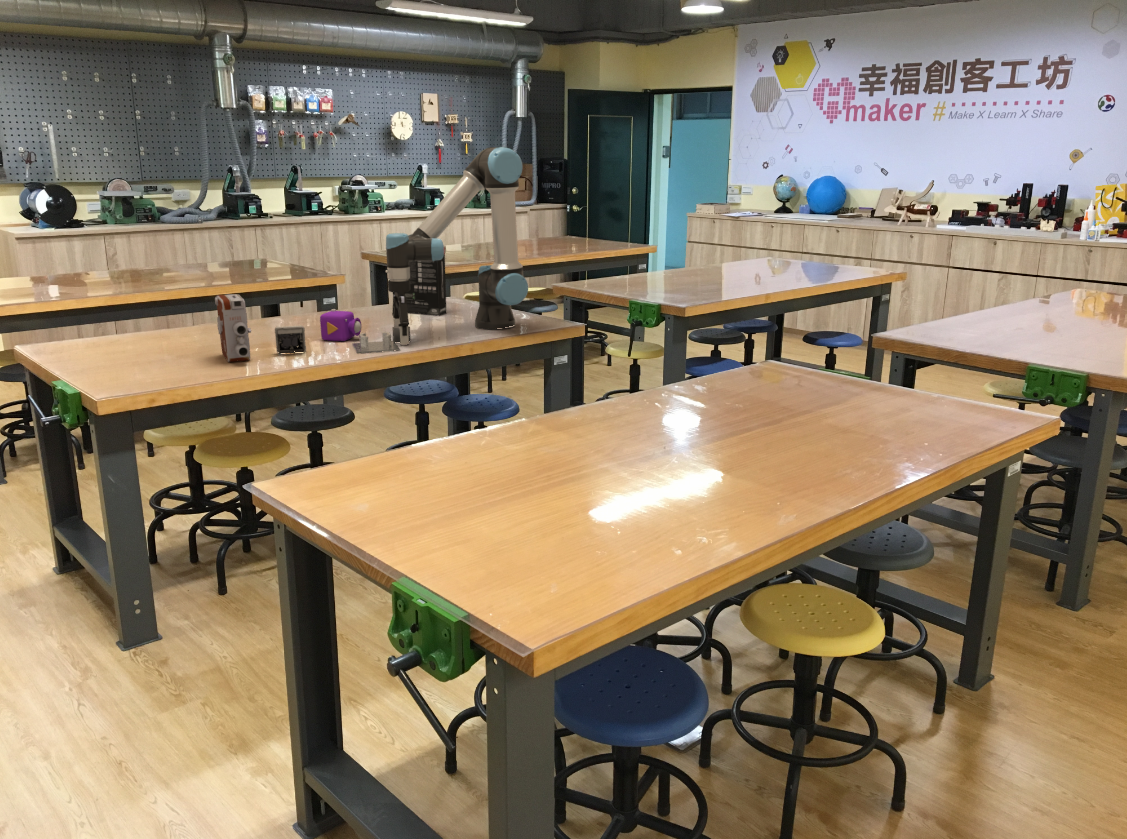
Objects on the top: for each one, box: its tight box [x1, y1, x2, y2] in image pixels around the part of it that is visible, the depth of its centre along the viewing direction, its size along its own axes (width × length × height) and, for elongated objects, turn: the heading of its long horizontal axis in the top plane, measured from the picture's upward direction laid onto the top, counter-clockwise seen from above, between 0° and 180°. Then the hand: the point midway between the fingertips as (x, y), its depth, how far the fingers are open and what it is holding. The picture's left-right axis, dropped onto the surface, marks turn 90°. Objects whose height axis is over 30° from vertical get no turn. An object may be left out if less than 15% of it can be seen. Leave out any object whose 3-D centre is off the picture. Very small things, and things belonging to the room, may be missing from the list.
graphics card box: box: [404, 247, 447, 316], centre depth 363 cm, size 17×7×27 cm, turn 69°
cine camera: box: [214, 293, 252, 363], centre depth 284 cm, size 9×19×20 cm, turn 27°
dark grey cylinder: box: [391, 325, 411, 342], centre depth 313 cm, size 6×6×5 cm
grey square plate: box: [351, 331, 401, 354], centre depth 303 cm, size 14×14×5 cm
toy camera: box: [319, 308, 362, 342], centre depth 316 cm, size 11×14×10 cm
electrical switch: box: [274, 325, 307, 355], centre depth 294 cm, size 9×5×9 cm, turn 107°
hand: (401, 340), depth 314 cm, fingers open, 13 cm apart
